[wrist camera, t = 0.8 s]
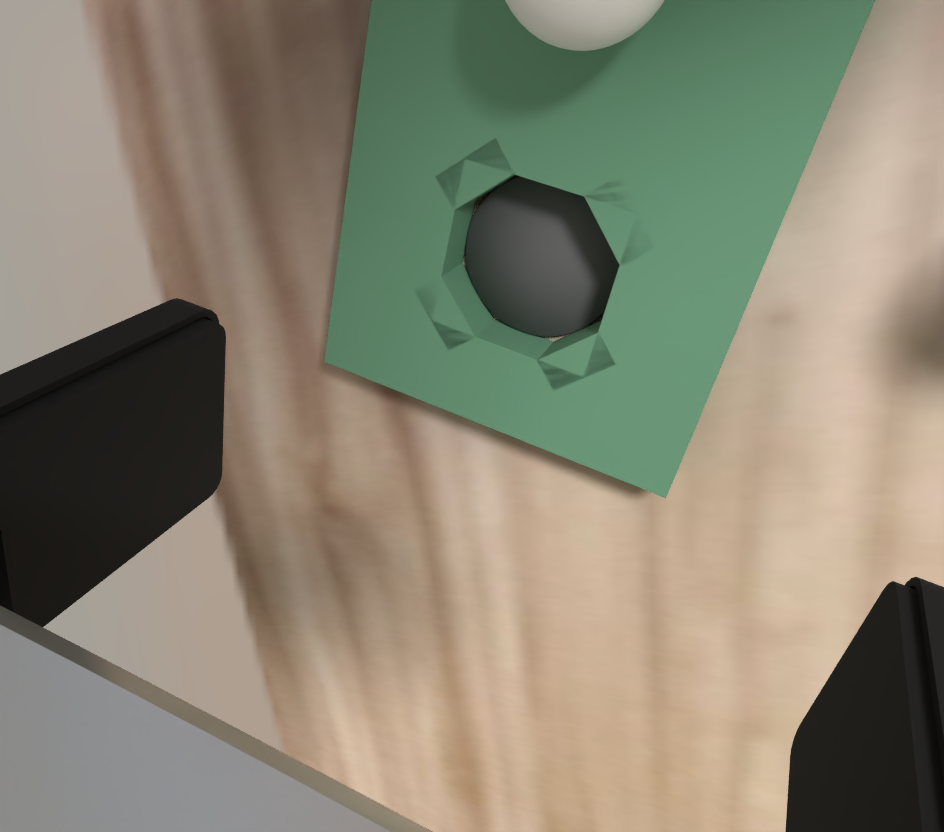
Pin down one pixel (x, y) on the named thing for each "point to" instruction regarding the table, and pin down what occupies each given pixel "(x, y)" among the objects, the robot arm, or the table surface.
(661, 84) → the mat
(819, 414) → the table surface
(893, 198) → the table surface
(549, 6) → the ball
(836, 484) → the table surface
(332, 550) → the table surface
